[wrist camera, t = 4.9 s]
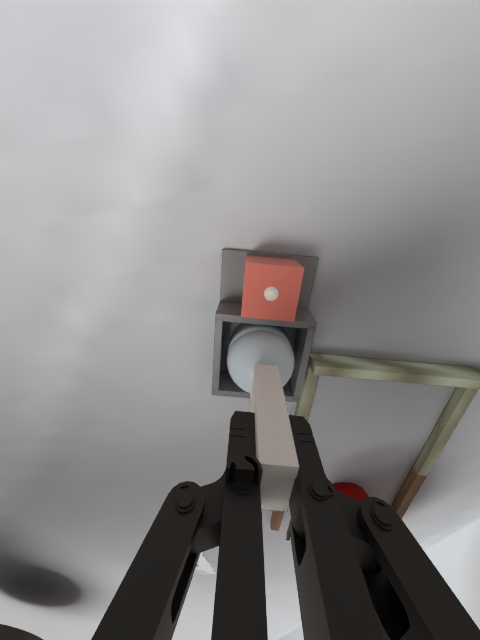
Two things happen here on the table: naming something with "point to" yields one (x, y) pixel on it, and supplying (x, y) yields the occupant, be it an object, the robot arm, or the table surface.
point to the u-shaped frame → (397, 371)
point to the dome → (258, 353)
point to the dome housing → (264, 310)
